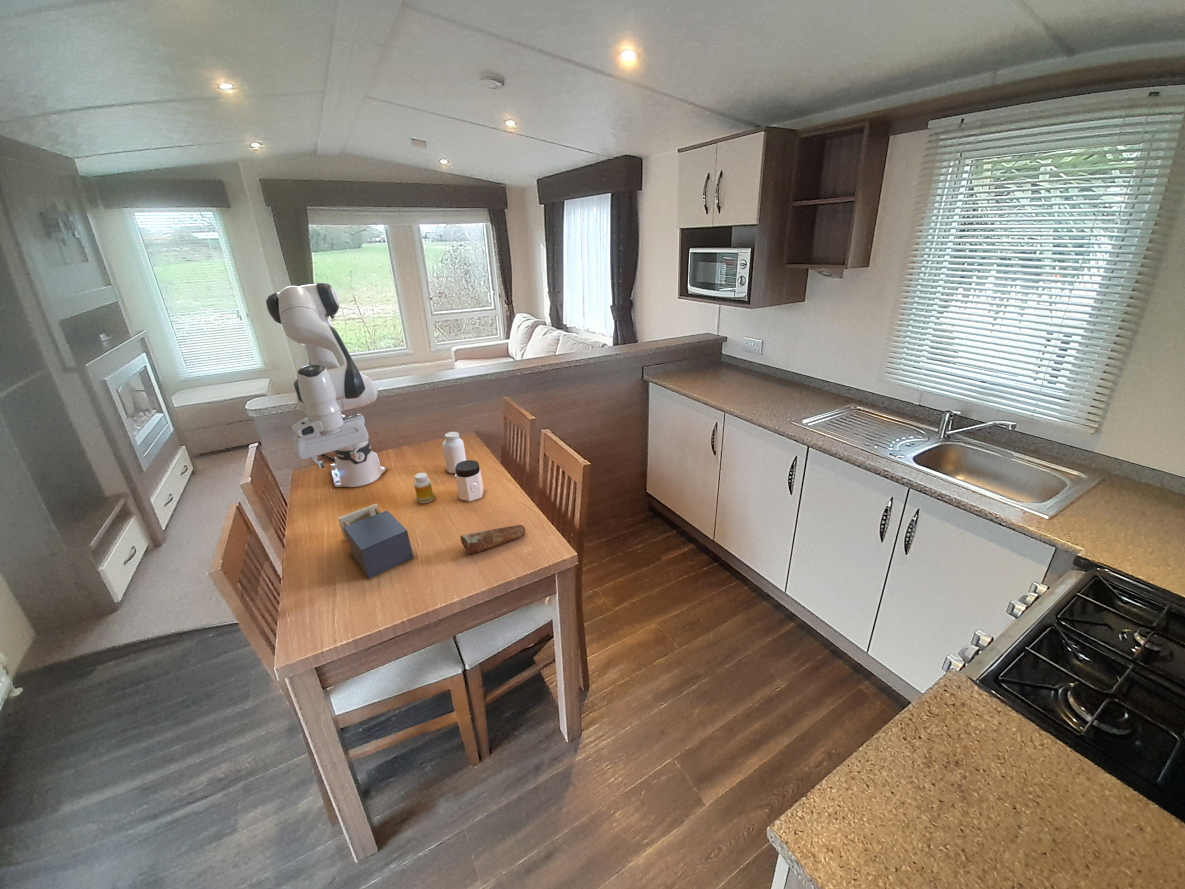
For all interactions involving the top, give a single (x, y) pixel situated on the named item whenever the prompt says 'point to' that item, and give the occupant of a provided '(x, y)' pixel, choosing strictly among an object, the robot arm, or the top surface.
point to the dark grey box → (378, 543)
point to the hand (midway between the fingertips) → (338, 462)
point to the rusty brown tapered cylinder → (491, 538)
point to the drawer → (357, 516)
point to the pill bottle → (453, 451)
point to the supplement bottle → (423, 488)
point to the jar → (469, 480)
